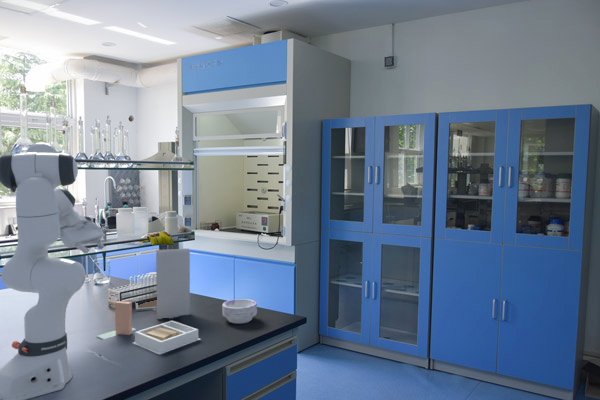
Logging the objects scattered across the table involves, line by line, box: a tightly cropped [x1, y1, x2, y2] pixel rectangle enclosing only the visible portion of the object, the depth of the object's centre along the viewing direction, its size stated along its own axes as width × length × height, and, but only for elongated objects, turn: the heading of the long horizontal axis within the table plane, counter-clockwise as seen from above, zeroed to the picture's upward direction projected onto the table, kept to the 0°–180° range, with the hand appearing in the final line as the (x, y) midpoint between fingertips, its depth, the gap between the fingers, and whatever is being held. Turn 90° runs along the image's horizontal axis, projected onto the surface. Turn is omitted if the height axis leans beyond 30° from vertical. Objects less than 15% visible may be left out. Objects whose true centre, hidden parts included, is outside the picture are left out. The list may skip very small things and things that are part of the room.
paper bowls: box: [221, 298, 258, 325], centre depth 202 cm, size 15×15×8 cm
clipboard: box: [135, 300, 157, 312], centre depth 227 cm, size 19×2×30 cm
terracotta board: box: [114, 300, 133, 336], centre depth 181 cm, size 2×6×13 cm, turn 78°
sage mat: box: [96, 327, 137, 340], centre depth 181 cm, size 14×14×1 cm
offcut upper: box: [146, 328, 177, 341], centre depth 172 cm, size 7×9×2 cm
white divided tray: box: [132, 320, 201, 356], centre depth 174 cm, size 19×17×5 cm
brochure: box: [155, 248, 191, 320], centre depth 205 cm, size 14×6×30 cm, turn 108°
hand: (94, 250), depth 184 cm, fingers open, 8 cm apart
